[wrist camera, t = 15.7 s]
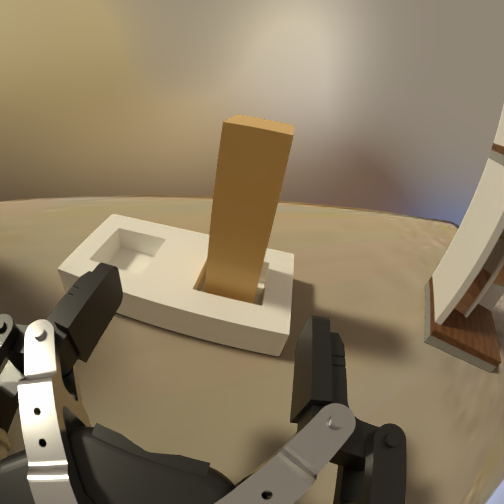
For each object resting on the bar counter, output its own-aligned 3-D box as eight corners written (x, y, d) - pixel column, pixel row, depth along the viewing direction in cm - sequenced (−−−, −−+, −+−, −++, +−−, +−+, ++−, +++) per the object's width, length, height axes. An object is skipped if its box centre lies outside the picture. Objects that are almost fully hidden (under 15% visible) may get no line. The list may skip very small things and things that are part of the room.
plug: (203, 306, 23) (223, 121, 14) (215, 276, 26) (237, 114, 17) (249, 317, 23) (293, 135, 14) (256, 286, 26) (294, 125, 17)
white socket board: (66, 292, 21) (57, 268, 19) (115, 236, 29) (112, 213, 28) (279, 356, 21) (289, 334, 19) (286, 276, 29) (294, 254, 27)
